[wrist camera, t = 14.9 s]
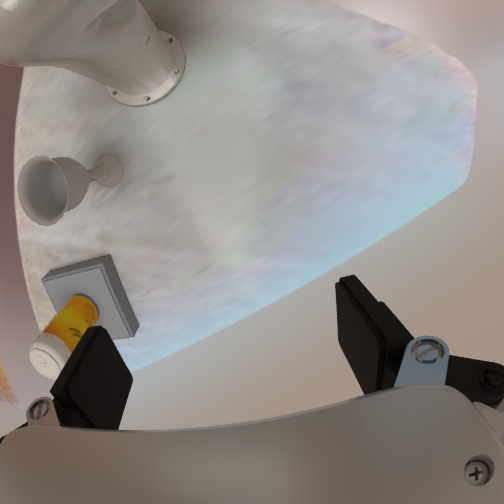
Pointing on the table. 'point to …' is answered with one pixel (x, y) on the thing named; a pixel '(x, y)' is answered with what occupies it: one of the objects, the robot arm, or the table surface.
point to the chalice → (61, 185)
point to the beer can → (62, 336)
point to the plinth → (94, 293)
